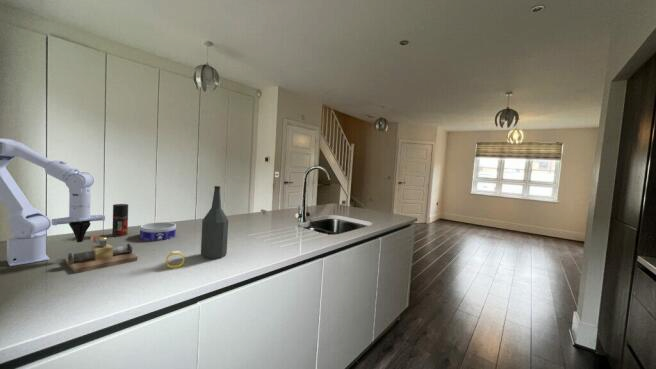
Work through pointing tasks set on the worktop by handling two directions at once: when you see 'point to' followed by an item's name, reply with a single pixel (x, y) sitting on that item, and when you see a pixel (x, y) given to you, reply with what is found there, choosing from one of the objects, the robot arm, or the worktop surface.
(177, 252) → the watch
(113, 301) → the worktop surface
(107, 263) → the valve board
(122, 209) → the deodorant
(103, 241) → the valve lever
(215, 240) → the bottle
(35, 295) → the worktop surface
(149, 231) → the dog bowl
